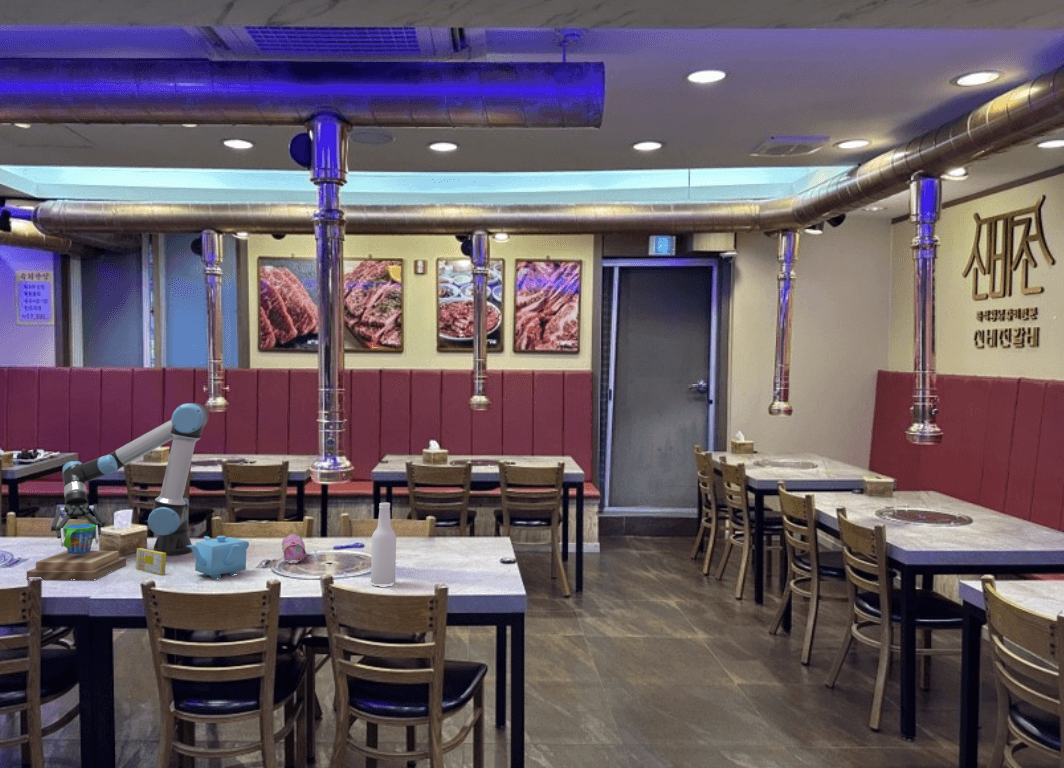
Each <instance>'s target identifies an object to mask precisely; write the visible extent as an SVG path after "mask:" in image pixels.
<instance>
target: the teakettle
mask: <svg viewBox="0 0 1064 768" xmlns="http://www.w3.org/2000/svg"><path fill="white" fill-rule="evenodd" d="M203 538H204V540H201V541H196V542H195V544H192V545H189V546H187V547H189V548H191V549H192V552H193V557H194V560H195V562H194V563H195V565H194V567H195V568H194V571H196V572H199V573H201V574H202V576H203V577H204V576H205V577H207V576H208V575H209V576H210V577H212V578H213V579H212V580H218V579H217V578H220V577H221V576H222V575H224V574H228V573H229V575H230V574H231V575H234V574H238V575H239V573H238V572H240V571H244V570H247V550H248V548H249V546H250V542H249V541H247V540H243V539H239V538H235V537H232V536H229V537H228V536H227V535H217V536H216V538H214V539H211V537H210V536H208V535H207V536H206V535H205V536H203ZM231 575H230V576H231ZM220 579H221V578H220Z"/></svg>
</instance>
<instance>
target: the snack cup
mask: <svg viewBox="0 0 1064 768" xmlns="http://www.w3.org/2000/svg"><path fill="white" fill-rule="evenodd" d="M95 529H96V525H94V524H91V523H72V524H68V525H64V527H63V533H64V547H63V548H66V549H67V551H68V553H70V554H83V553H87V552H89V551H92V544H93V540H95V532H94V530H95Z"/></svg>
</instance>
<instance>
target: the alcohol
mask: <svg viewBox="0 0 1064 768" xmlns="http://www.w3.org/2000/svg"><path fill="white" fill-rule="evenodd" d="M390 508H391V503H390V502H385V501H384V502H380V503H379V506H378V509H379V510H378V511H379V512H378V519H377V528H376V529H375V530H374V531H373V533H372V536H371V557H370V559H371V562H370V566H371V567H370V568H371V569H370V583H371V582H372V583H374V584H390V583H393V582H395V583H396V567H397V566H396V565H397V564H396V563H397V562H396V561H397V559H396V558H397V535H396V532H395V531H394V530H393V528H392V524H391V509H390Z"/></svg>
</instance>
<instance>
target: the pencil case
mask: <svg viewBox="0 0 1064 768" xmlns="http://www.w3.org/2000/svg"><path fill="white" fill-rule="evenodd" d="M281 546H282V548H281V549H282V553H283V558H284V561H285V560H300V559H303V560H305V558H306V555H307V552H306V546H305V543H304V541H303V538H302V536H301V535H300V534H296V533H291V534H289V535H287V536H285V537H283V539H282V543H281Z"/></svg>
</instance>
